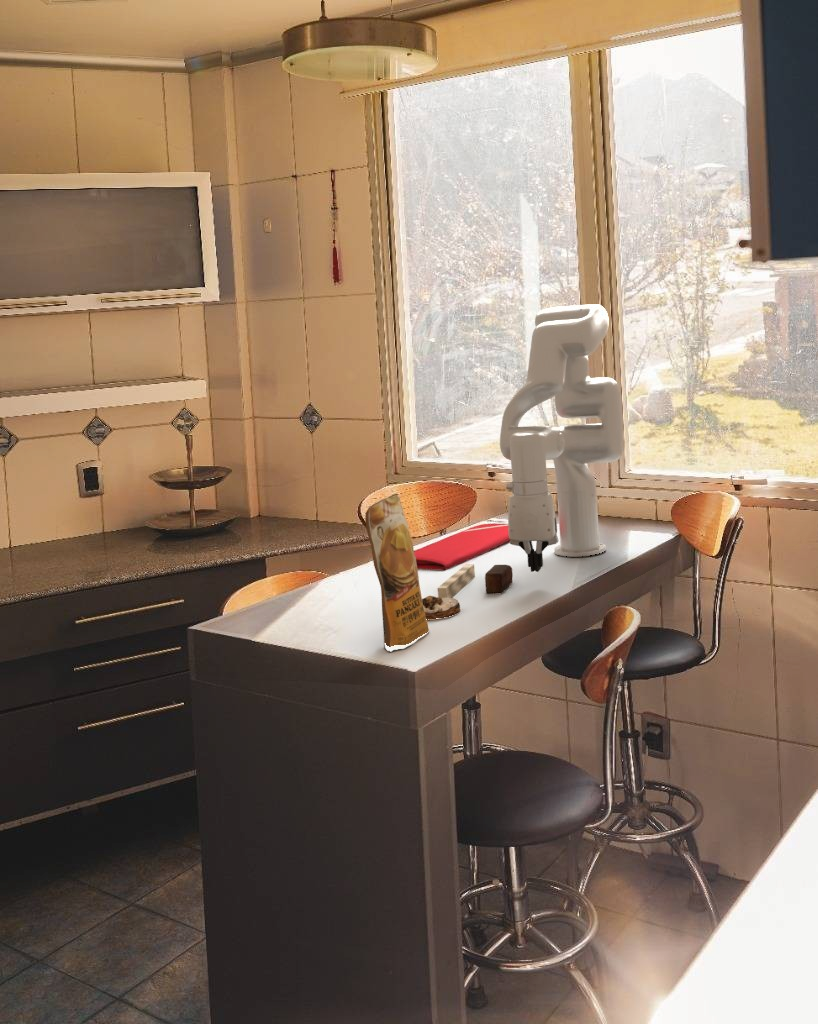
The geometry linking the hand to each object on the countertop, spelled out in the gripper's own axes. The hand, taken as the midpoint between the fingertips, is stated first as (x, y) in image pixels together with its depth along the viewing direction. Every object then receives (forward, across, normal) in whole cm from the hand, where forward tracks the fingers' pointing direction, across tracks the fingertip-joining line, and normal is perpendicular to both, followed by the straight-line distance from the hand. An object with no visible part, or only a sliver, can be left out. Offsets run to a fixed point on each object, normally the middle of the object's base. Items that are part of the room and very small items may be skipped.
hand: (535, 570), depth 265 cm
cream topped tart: (+5, -18, -21) cm, 28 cm away
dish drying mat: (+5, -28, +39) cm, 48 cm away
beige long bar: (+4, -18, -1) cm, 19 cm away
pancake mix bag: (+4, -17, -41) cm, 45 cm away
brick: (+4, -8, 0) cm, 10 cm away
